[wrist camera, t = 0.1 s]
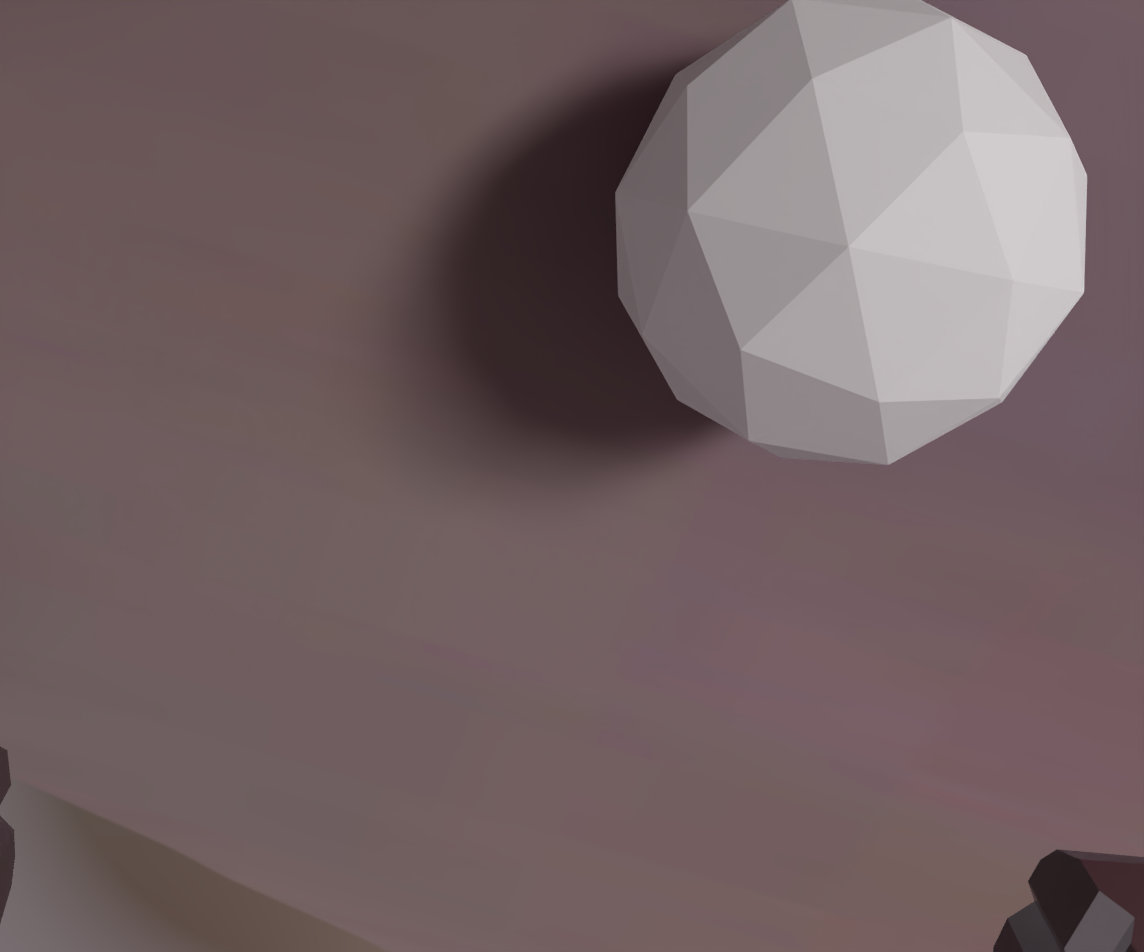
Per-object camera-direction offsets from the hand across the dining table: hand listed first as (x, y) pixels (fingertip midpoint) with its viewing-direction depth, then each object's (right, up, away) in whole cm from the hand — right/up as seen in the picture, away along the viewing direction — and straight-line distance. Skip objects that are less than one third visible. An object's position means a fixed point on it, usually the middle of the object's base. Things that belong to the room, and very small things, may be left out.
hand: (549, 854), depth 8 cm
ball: (+11, +18, +46) cm, 51 cm away
